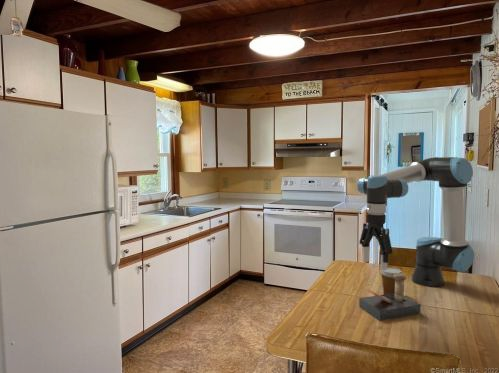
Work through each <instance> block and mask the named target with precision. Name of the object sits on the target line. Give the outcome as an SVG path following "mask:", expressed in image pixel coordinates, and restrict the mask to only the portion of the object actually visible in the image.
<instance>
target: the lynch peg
mask: <svg viewBox="0 0 499 373" xmlns="http://www.w3.org/2000/svg"><path fill="white" fill-rule="evenodd" d="M394 278H395V301H397V302H404V296H405V295H404V294H405V280H407V275H406V274H404V273H402V274H400V273H396V274H394Z"/></svg>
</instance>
